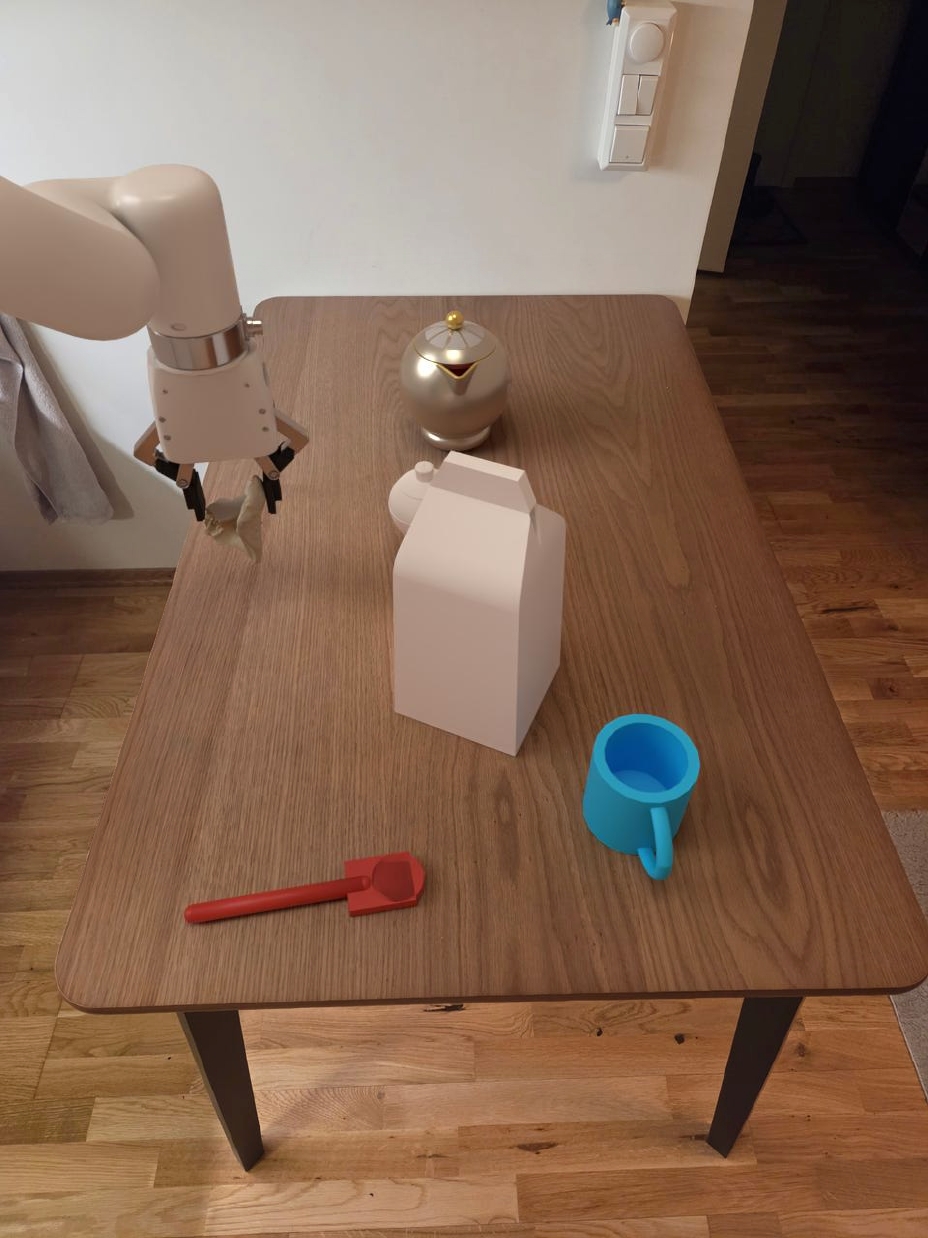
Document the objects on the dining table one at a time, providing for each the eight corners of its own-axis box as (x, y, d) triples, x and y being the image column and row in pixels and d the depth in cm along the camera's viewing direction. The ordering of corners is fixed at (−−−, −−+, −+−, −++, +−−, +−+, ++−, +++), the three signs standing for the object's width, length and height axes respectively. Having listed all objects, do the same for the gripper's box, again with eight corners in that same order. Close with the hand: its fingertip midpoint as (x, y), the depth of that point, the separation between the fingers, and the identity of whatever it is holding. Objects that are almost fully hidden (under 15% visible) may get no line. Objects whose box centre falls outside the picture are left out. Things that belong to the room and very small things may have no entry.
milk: (394, 711, 79) (372, 489, 60) (447, 627, 86) (442, 405, 67) (515, 757, 76) (532, 537, 57) (559, 665, 83) (588, 442, 64)
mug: (573, 773, 75) (583, 718, 69) (665, 764, 75) (682, 709, 69) (604, 905, 67) (618, 856, 61) (706, 894, 67) (730, 844, 61)
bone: (201, 498, 88) (237, 431, 81) (261, 522, 90) (300, 458, 84) (186, 560, 82) (223, 493, 76) (250, 583, 85) (291, 520, 78)
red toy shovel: (185, 945, 65) (180, 938, 64) (187, 893, 67) (183, 885, 66) (428, 903, 67) (427, 895, 66) (420, 854, 70) (420, 846, 69)
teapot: (515, 467, 104) (522, 343, 92) (403, 472, 103) (395, 348, 91) (500, 385, 116) (504, 266, 104) (399, 389, 115) (392, 270, 103)
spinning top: (391, 533, 96) (384, 444, 87) (460, 529, 96) (460, 441, 88) (393, 581, 91) (385, 492, 82) (465, 577, 91) (465, 488, 82)
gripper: (303, 307, 73) (324, 476, 87) (93, 321, 71) (147, 493, 84) (308, 351, 68) (329, 524, 82) (82, 368, 66) (141, 544, 79)
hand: (236, 507), depth 83 cm, fingers closed on bone, 6 cm apart
